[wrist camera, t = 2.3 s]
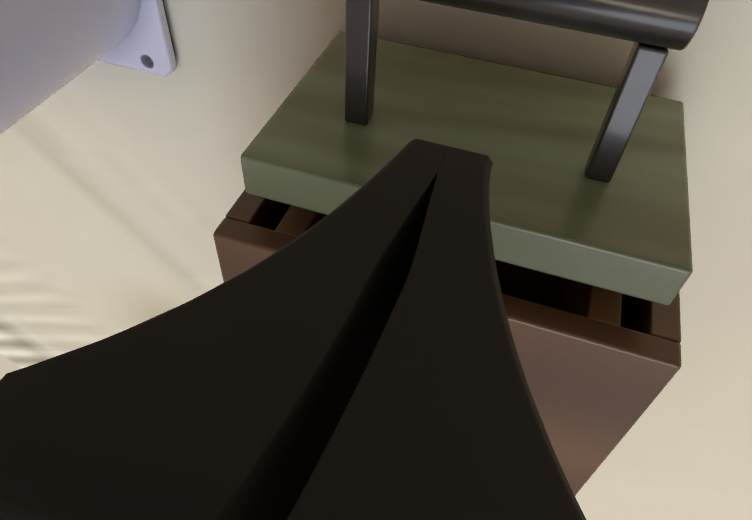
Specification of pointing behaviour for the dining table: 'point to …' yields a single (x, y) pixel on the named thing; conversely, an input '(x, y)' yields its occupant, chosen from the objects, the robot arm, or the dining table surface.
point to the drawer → (508, 147)
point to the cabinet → (534, 349)
